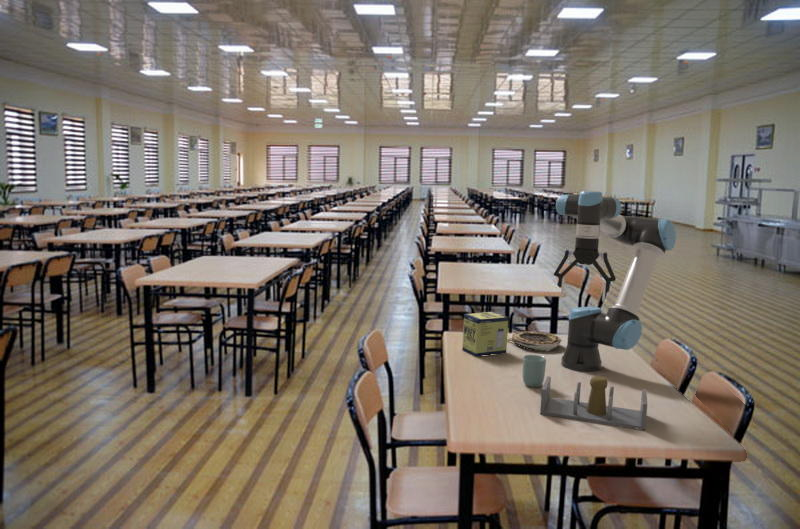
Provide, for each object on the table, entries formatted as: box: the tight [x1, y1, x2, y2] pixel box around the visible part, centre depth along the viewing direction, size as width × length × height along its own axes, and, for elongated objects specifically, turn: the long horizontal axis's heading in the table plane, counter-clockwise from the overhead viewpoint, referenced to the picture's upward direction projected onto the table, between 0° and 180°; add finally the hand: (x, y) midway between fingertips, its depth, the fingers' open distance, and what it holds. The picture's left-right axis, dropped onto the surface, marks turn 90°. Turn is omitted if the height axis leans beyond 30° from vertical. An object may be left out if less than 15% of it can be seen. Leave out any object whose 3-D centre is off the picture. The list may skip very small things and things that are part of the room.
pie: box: [507, 330, 563, 352], centre depth 279 cm, size 28×27×5 cm
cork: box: [586, 376, 608, 415], centre depth 200 cm, size 6×6×11 cm
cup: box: [521, 354, 547, 388], centre depth 226 cm, size 8×8×10 cm
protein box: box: [461, 311, 509, 357], centre depth 266 cm, size 10×16×16 cm
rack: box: [539, 375, 648, 430], centre depth 201 cm, size 30×14×8 cm, turn 71°
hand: (582, 298), depth 221 cm, fingers open, 13 cm apart
